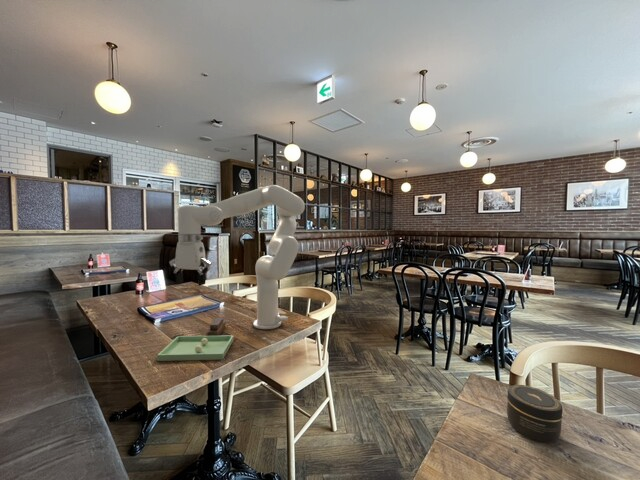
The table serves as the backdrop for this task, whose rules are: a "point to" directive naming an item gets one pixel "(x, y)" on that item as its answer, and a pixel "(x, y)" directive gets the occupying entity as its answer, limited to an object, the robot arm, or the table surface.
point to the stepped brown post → (216, 327)
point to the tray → (186, 348)
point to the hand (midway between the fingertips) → (190, 284)
